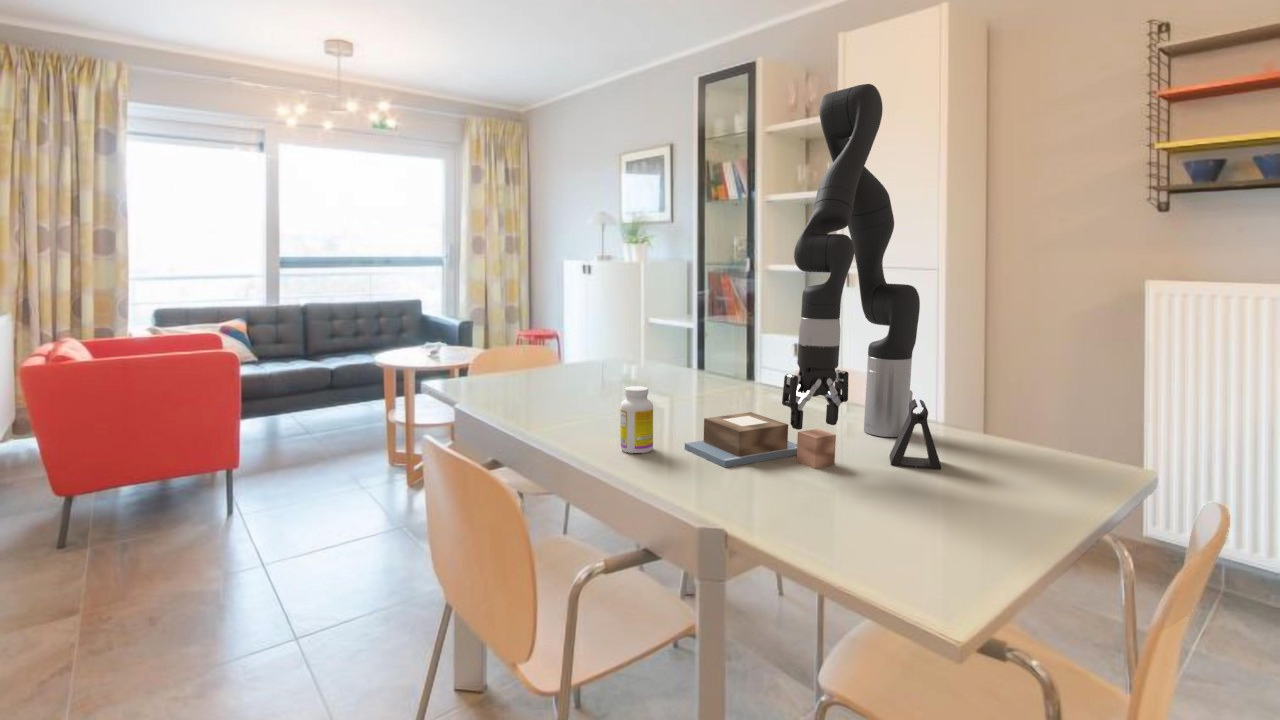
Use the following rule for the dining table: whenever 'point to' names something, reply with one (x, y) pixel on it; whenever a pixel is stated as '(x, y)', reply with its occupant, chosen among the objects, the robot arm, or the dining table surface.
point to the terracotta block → (816, 448)
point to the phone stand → (904, 437)
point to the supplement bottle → (636, 421)
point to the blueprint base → (742, 440)
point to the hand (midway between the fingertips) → (814, 426)
